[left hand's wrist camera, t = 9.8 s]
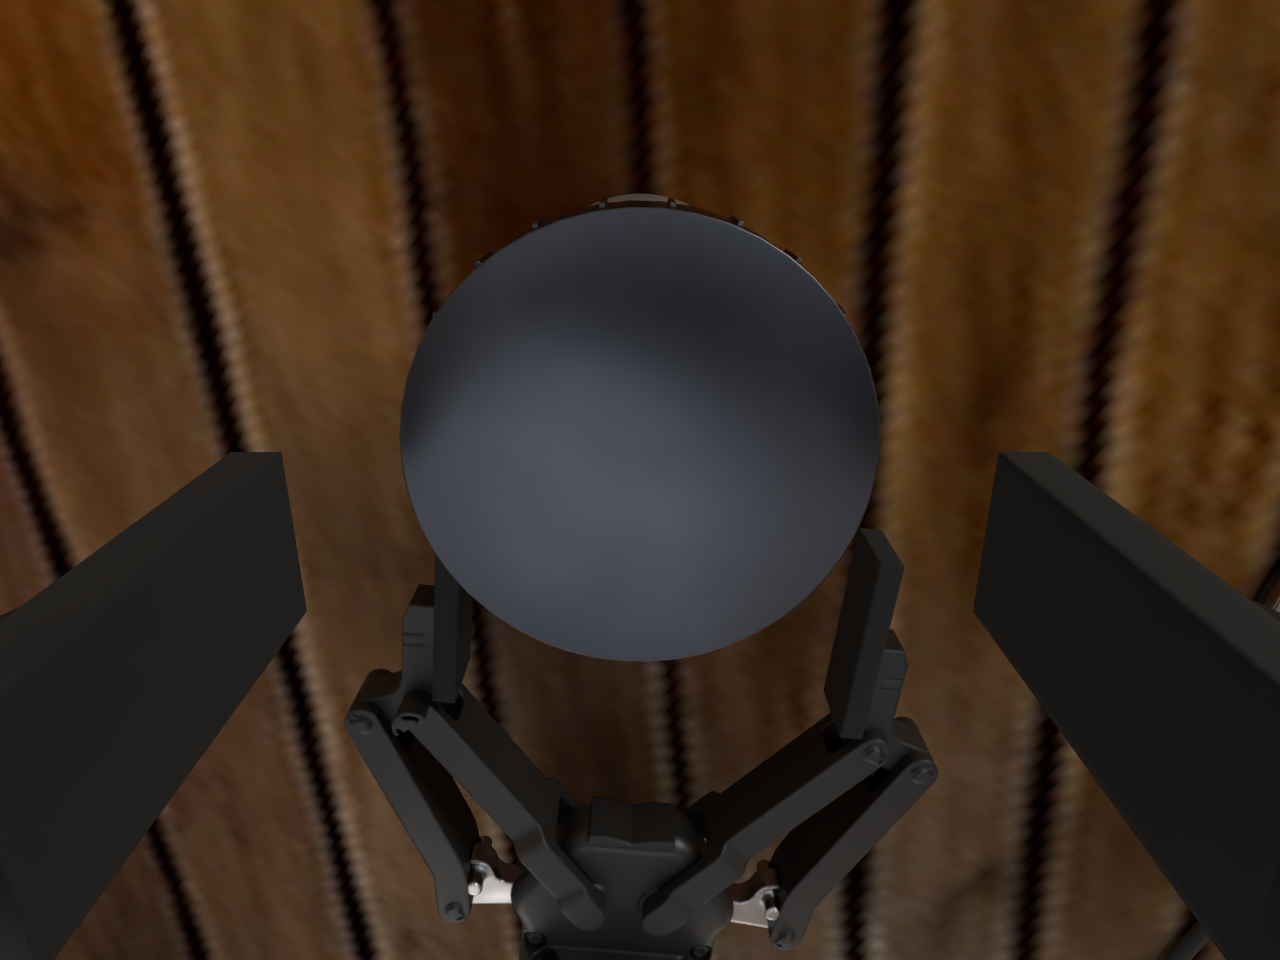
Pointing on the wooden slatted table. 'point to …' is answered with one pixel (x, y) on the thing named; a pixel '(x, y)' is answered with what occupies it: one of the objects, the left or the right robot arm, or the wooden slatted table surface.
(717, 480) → the lid
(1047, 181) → the wooden slatted table surface
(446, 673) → the right robot arm
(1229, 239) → the wooden slatted table surface
